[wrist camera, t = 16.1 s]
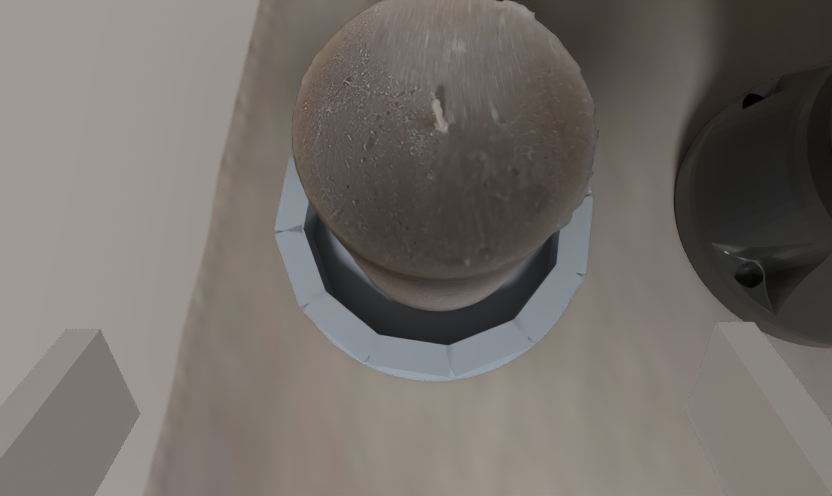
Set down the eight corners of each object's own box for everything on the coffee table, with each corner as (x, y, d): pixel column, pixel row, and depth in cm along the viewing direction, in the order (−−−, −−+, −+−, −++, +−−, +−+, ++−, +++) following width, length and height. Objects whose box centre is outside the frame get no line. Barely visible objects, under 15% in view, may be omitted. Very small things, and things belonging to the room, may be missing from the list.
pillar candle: (322, 267, 30) (213, 187, 15) (398, 117, 31) (365, -89, 17) (483, 342, 29) (535, 336, 14) (553, 183, 30) (666, 26, 16)
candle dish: (594, 112, 32) (613, 82, 29) (566, 403, 29) (584, 409, 25) (318, 79, 33) (303, 45, 30) (262, 354, 30) (238, 354, 27)
